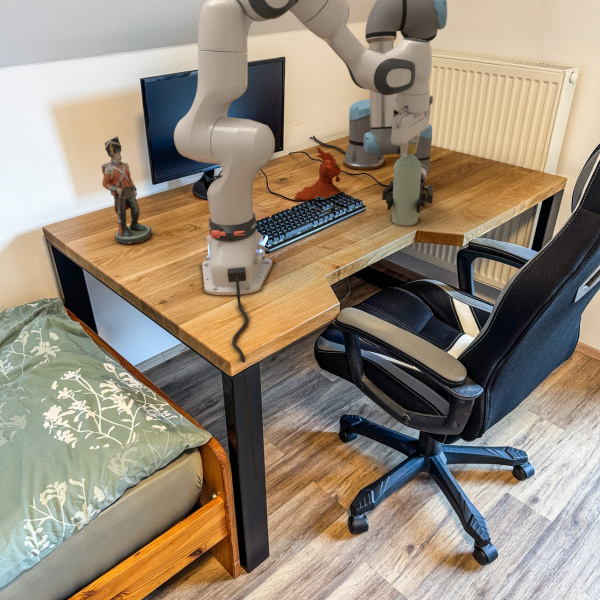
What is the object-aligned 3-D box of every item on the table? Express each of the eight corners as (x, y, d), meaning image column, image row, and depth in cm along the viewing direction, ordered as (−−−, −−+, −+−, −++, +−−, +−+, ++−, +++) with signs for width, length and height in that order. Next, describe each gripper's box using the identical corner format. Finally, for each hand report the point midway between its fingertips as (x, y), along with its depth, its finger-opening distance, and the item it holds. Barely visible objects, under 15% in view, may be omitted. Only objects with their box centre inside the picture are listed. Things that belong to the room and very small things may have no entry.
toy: (349, 195, 190) (350, 151, 182) (303, 205, 184) (301, 160, 176) (331, 183, 200) (331, 141, 192) (287, 193, 194) (284, 150, 186)
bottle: (408, 213, 176) (412, 142, 164) (422, 222, 170) (428, 149, 158) (387, 218, 173) (389, 146, 162) (400, 227, 167) (404, 153, 155)
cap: (416, 149, 162) (416, 143, 161) (417, 154, 158) (417, 147, 157) (400, 149, 163) (400, 143, 162) (400, 154, 159) (401, 148, 158)
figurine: (142, 245, 163) (121, 143, 147) (109, 243, 165) (84, 142, 149) (157, 230, 172) (139, 131, 156) (125, 228, 174) (104, 131, 158)
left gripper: (409, 112, 144) (406, 165, 151) (435, 95, 159) (431, 144, 166) (386, 110, 147) (384, 162, 154) (414, 94, 162) (411, 141, 169)
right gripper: (445, 193, 182) (438, 222, 163) (381, 189, 187) (368, 216, 169) (447, 171, 178) (440, 197, 159) (382, 167, 183) (368, 192, 165)
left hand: (408, 152), depth 160 cm, fingers open, 6 cm apart
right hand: (403, 207), depth 164 cm, fingers closed on bottle, 8 cm apart
